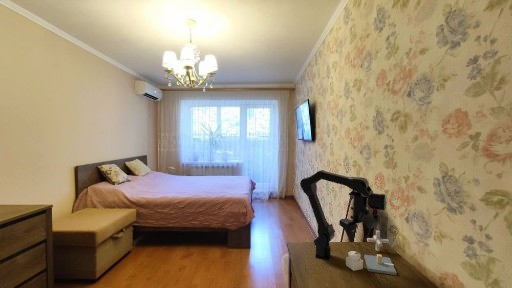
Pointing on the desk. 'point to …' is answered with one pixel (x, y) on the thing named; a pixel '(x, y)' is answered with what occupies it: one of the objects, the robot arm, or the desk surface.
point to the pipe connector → (377, 240)
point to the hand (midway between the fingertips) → (358, 240)
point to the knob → (354, 261)
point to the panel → (379, 264)
